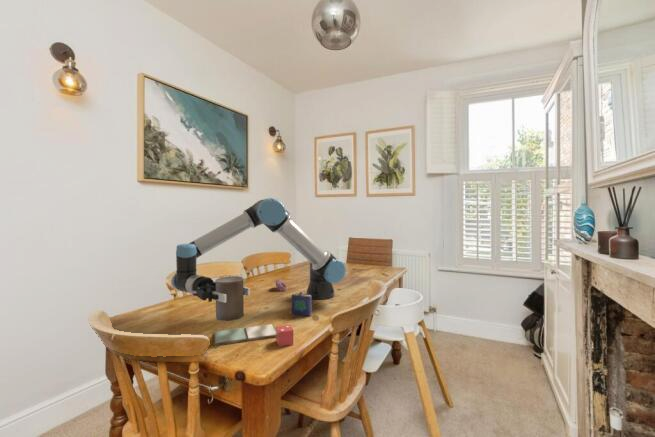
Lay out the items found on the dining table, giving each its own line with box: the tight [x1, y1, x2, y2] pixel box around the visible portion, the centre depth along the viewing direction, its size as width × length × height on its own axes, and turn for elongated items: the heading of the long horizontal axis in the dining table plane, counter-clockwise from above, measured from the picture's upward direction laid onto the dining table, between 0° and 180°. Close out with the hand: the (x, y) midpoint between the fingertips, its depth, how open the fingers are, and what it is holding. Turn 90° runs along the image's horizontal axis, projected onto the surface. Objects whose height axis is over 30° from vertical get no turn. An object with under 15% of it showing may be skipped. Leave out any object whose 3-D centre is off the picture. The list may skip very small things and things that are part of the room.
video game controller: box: [275, 278, 287, 292], centre depth 176 cm, size 10×5×7 cm, turn 6°
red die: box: [275, 324, 294, 348], centre depth 106 cm, size 5×5×5 cm
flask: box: [291, 290, 313, 318], centre depth 133 cm, size 9×3×11 cm, turn 74°
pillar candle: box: [215, 275, 245, 322], centre depth 109 cm, size 10×10×15 cm
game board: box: [213, 323, 276, 347], centre depth 112 cm, size 22×11×1 cm, turn 111°
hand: (237, 295), depth 107 cm, fingers closed on pillar candle, 9 cm apart
